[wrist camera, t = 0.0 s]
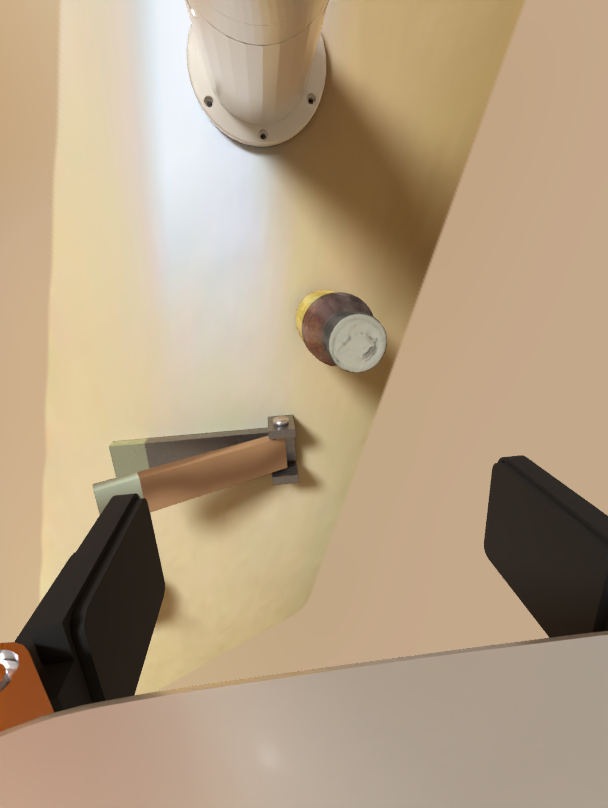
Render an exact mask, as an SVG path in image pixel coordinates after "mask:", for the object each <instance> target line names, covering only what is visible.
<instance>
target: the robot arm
mask: <svg viewBox="0 0 608 808" xmlns="http://www.w3.org/2000/svg"><path fill="white" fill-rule="evenodd" d="M328 1H329V0H185V3H186V6H187V9H188V13H189V16H190V20H191V23H192V24H191V27H190V30H189V35H188V43H187V66H188V71H189V76H190V81H191V84H192V87H193V90H194V93H195V95H196V97H197V99H198V102H199V104H200V106H201V108H202V109H203V111H204V112H205V114H206V115H207V117H208V118H209V120H210V121H211V122H212V123H213V124H214V125H215V126H216V127H217V128H218V129H219V130H220V131H222V132H223V133H224V134H226V135H227V136H228V137H230V138H232V139H234V140H236V141H238V142H240V143H242V144H246V145H251V146H258V147H268V146H273V145H278V144H281V143H283V142H285V141H287V140H290V139H291V138H292V137H294V136H295V135H297V134H298V133H299V132H301V130H302V129H303V128H304V127H305V126H306V125H307V124H308V123H309V121H310V120H311V118H312V116H313V115H314V113H315V112H316V110H317V107H318V105H319V102H320V100H321V97H322V93H323V90H324V86H325V78H326V53H325V47H324V42H323V38H322V35H321V28H322V24H323V21H324V17H325V13H326V9H327V5H328ZM310 99H311V100H312V101H313V104H309V103H308V100H310ZM209 102H211V103H212V106H211V107H208V106H207V104H208V103H209ZM261 135H265V136H266V138H265V139H264V140H263V139H261ZM491 477H492V478H491V485H490V495H489V503H488V513H487V521H486V530H485V539H484V549H485V553H486V555H487V557H488V558H489V560H490V561H491V563H492V564H493V565H494V566H495V568H496V569H497V570H498V572H499V573H500V574H501V575H502V577H503V578H504V579H505V580H506V582H507V583H508V585H509V586H510V587H511V588H512V590H513V591H514V592H515V593H516V595H517V596H518V597H519V599H520V600H521V601H522V602H523V604H524V605H525V606H526V608H527V609H528V610H529V612H530V613H531V614H532V615H533V617H534V618H535V619H536V621H537V622H538V623H539V624H540V626H541V627H542V628H543V630H544V631H545V632H546V634H547V635H548V636H549V637H550V638H544V639H537V640H529V641H522V642H514V643H505V644H498V645H490V646H483V647H474V648H466V649H459V650H452V651H444V652H437V653H429V654H422V655H415V656H407V657H399V658H392V659H385V660H377V661H370V662H363V663H355V664H348V665H340V666H333V667H326V668H319V669H312V670H305V671H297V672H290V673H284V674H276V675H269V676H262V677H255V678H248V679H241V680H234V681H226V682H220V683H212V684H205V685H199V686H192V687H185V688H179V689H172V690H166V691H159V692H152V693H146V694H141V695H135V696H134V694H135V691H136V688H137V684H138V681H139V678H140V674H141V671H142V667H143V664H144V661H145V657H146V654H147V651H148V647H149V644H150V641H151V637H152V634H153V631H154V627H155V624H156V620H157V617H158V614H159V610H160V607H161V604H162V600H163V597H164V591H165V582H164V577H163V572H162V567H161V562H160V558H159V553H158V548H157V544H156V539H155V534H154V529H153V525H152V520H151V515H150V511H149V506H148V502H147V500H146V498H140V496H139V495H138V494H137V493H134V494H124V495H115V496H113V497H112V498H111V499H110V501H109V502H108V504H107V505H106V507H105V508H104V510H103V511H102V513H101V515H100V516H99V518H98V519H97V521H96V522H95V524H94V525H93V527H92V528H91V530H90V531H89V533H88V535H87V536H86V538H85V539H84V541H83V542H82V544H81V545H80V547H79V548H78V550H77V551H76V552H75V553H74V554H73V555H72V556H71V557H70V558H69V560H68V561H67V563H66V564H65V566H64V567H63V569H62V571H61V572H60V574H59V575H58V577H57V578H56V580H55V581H54V583H53V584H52V586H51V587H50V589H49V590H48V592H47V593H46V595H45V596H44V598H43V599H42V601H41V602H40V604H39V605H38V607H37V608H36V610H35V612H34V613H33V614H32V616H31V618H30V619H29V621H28V622H27V624H26V625H25V627H24V628H23V630H22V631H21V633H20V634H19V636H18V637H17V639H16V640H15V642H10V643H9V642H8V643H0V808H608V516H607V515H605V514H604V513H603V512H601V511H600V510H599V509H597V508H596V507H595V506H593V505H592V504H590V503H589V502H588V501H586V500H585V499H584V498H582V497H581V496H579V495H578V494H577V493H575V492H574V491H572V490H571V489H569V488H568V487H567V486H565V485H564V484H563V483H561V482H560V481H559V480H557V479H556V478H554V477H553V476H551V475H550V474H549V473H547V472H546V471H545V470H543V469H542V468H541V467H539V466H538V465H536V464H535V463H534V462H532V461H531V460H529V459H528V458H526V457H525V456H512V457H502V458H500V459H499V461H498V463H495V464H494V466H493V469H492V476H491Z"/></svg>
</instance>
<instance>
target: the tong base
mask: <svg viewBox="0 0 608 808" xmlns="http://www.w3.org/2000/svg"><path fill="white" fill-rule="evenodd" d="M265 436H269V439H280V438H285V444H286V457H287V468H285V469H282V470H279V471H276V472H272V476H273V485H278V484H288V483H299V477H298V470H297V464H296V451H295V437H296V432H295V425H294V420H293V415H285V416H273V417H268V428H258V429H247V430H236V431H224V432H213V433H202V434H191V435H179V436H168V437H157V438H145V439H134V440H123V441H113V442H112V444H111V445H110V446H109V449H110V453H111V457H112V462H113V466H114V470H115V474H116V477H121V476H124V475H128V474H132V473H135V472H139V471H142V470H146V469H150V468H153V467H157V466H160V465H164V464H168V463H171V462H175V461H178V460H182V459H186V458H189V457H193V456H197V455H200V454H204V453H207V452H211V451H215V450H218V449H222V448H225V447H229V446H233V445H236V444H240V443H244V442H247V441H251V440H254V439H258V438H262V437H265Z"/></svg>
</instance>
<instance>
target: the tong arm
mask: <svg viewBox="0 0 608 808" xmlns="http://www.w3.org/2000/svg"><path fill="white" fill-rule="evenodd" d="M285 468H287V457H286V444H285V438H280V439H269V436H265V437H262V438H258V439H254V440H251V441H247V442H244V443H240V444H236V445H233V446H229V447H225V448H222V449H218V450H215V451H211V452H207V453H204V454H200V455H197V456H193V457H189V458H186V459H182V460H178V461H175V462H171V463H168V464H164V465H160V466H157V467H153V468H150V469H146V470H142V471H139V472H135V473H132V474H128V475H124V476H121V477H117V478H113V479H110V480H106V481H103V482H99V483H95V484H93V490H94V494H95V498H96V502H97V506H98V509H99V513H100V515H101V513H102V511H103V510H104V508H105V507H106V505H107V504H108V502H109V501H110V499H111V498H112V497H113V496H115V495H124V494H134V493H137V494H138V495H139V496H140V498H146V500H147V502H148V506H149V511H150V512H153V511H156V510H159V509H162V508H165V507H168V506H171V505H174V504H177V503H181V502H184V501H187V500H190V499H193V498H196V497H199V496H202V495H205V494H208V493H211V492H214V491H217V490H220V489H223V488H226V487H230V486H233V485H236V484H239V483H242V482H245V481H248V480H251V479H254V478H257V477H260V476H263V475H266V474H269V473H272V472H276V471H279V470H282V469H285Z"/></svg>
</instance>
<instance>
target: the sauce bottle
mask: <svg viewBox="0 0 608 808" xmlns="http://www.w3.org/2000/svg"><path fill="white" fill-rule="evenodd" d="M296 326H297V330H298V331H299V334H300V336H301V338H302V340H303V341H304V343H305V345H306V347H307V348H308V350H309V351H310V352H311V353H312V354H313V355H314V356H315V357H316V358H317V359H318V360H320V361H321V362H323V363H325V364H328V365H331V366H338V367H340V368H341V369H343V370H345V371H348V372H354V373H360V372H364V371H367V370H370V369H371V368H373V367H374V366H376V365H377V364H378V363H379V362H380V360H381V359H382V357H383V355H384V353H385V350H386V345H387V337H386V332H385V329H384V328H383V326H382V325H381V323H380V322H379V321H378V320H377V319H375V318H374V317H373V314H372V312H371V310H370V309H369V307H368V306H367V305H366V304H365V303H364V302H363V301H362V300H361V299H359V298H358V297H356V296H354V295H351V294H348V293H342V292H336V291H331V290H320V291H316V292H313V293H311V294H309V295H308V296H306V297H305V298H304V299H303V300H302V302H301V303H300V305H299V307H298V309H297V313H296Z"/></svg>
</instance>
